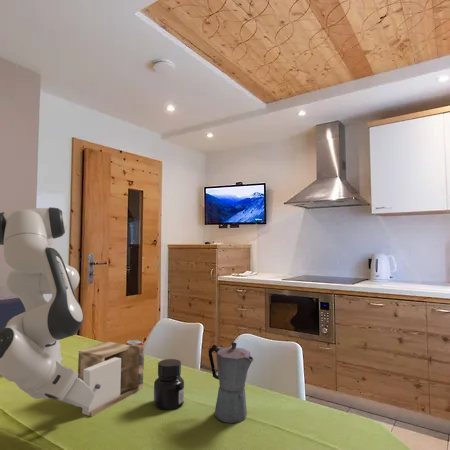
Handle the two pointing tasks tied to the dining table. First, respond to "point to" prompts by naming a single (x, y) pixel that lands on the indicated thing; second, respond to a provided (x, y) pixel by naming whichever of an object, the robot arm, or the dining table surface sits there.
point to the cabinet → (129, 366)
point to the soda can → (136, 343)
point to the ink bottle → (169, 385)
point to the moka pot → (231, 382)
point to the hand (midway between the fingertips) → (75, 402)
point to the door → (103, 382)
